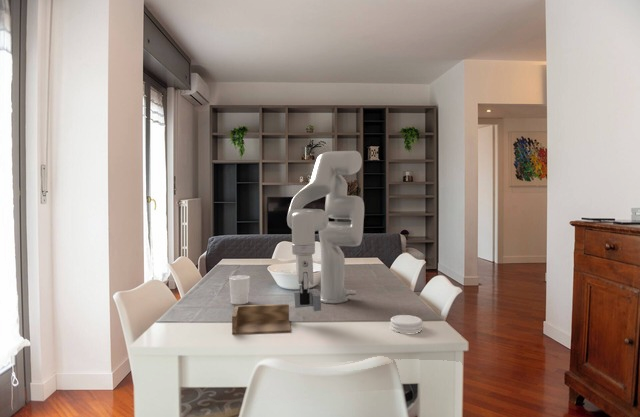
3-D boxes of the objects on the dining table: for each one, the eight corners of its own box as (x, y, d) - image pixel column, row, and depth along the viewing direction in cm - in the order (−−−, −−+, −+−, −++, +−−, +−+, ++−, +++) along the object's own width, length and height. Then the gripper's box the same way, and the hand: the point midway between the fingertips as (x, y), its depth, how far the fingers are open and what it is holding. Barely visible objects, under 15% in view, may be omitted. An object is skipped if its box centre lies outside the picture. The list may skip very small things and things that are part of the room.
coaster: (402, 336, 130) (402, 325, 130) (384, 327, 139) (384, 316, 139) (428, 332, 134) (428, 321, 134) (410, 323, 143) (410, 313, 143)
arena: (288, 320, 145) (288, 304, 145) (290, 332, 133) (290, 314, 133) (235, 322, 143) (234, 305, 142) (232, 334, 131) (232, 316, 131)
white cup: (245, 305, 163) (245, 279, 162) (226, 304, 164) (225, 278, 164) (252, 300, 171) (252, 275, 170) (234, 299, 172) (234, 274, 172)
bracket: (318, 303, 144) (317, 288, 144) (321, 310, 137) (320, 295, 136) (294, 305, 143) (293, 291, 143) (296, 312, 136) (295, 297, 135)
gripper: (317, 253, 133) (318, 310, 135) (312, 244, 149) (312, 295, 151) (293, 254, 132) (294, 311, 134) (290, 245, 148) (291, 296, 150)
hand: (304, 302), depth 142 cm, fingers closed on bracket
